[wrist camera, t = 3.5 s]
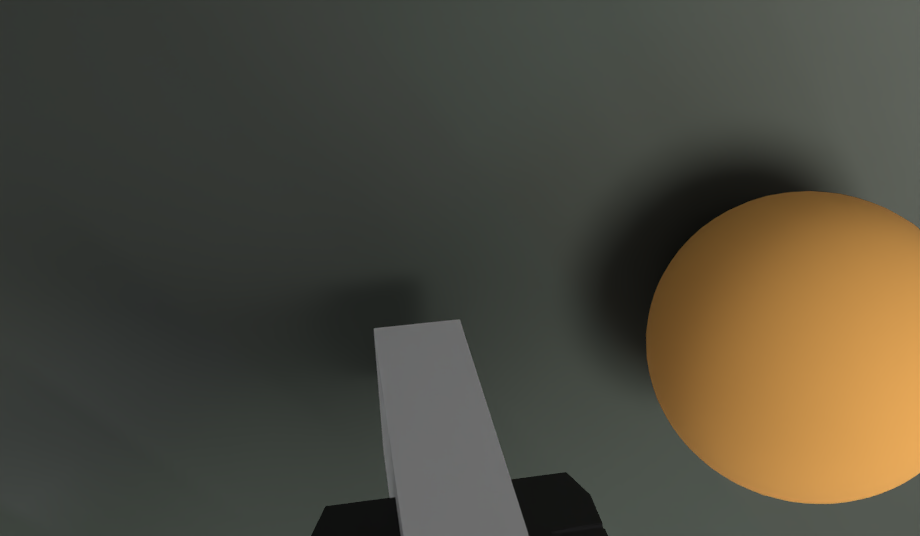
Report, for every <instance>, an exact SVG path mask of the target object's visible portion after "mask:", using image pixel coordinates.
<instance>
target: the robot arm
mask: <svg viewBox="0 0 920 536" xmlns="http://www.w3.org/2000/svg"><path fill="white" fill-rule="evenodd" d="M374 340H375V353H376V365H377V377H378V389H379V402H380V414H381V426H382V439H383V451H384V459H385V467H386V474H387V482H388V489H389V497H390V498H385V499H378V500H370V501H363V502H355V503H348V504H340V505H332V506H326V507H325V509H324V511H323V513H322V515H321V517H320V519H319V521H318V523H317V525H316V527H315V529H314V531H313V533H312V535H311V536H608V535H607V533H606V531H605V529H603V526H602V521H601V519H600V517H599V514H598V512H597V510H596V507H595V505H594V503H593V500H592V498H591V496H590V494H589V493H588V492H587V491H585V490H584V489H583V488H582V487H581V486H580V485H579V484H578V483H577V482H576V481H575V480H574V479H573V478H572V477H571V476H570V475H568V474H567V473H566V472H565V473H557V474H550V475H542V476H534V477H527V478H519V479H512V480H511V478H510V475H509V472H508V469H507V466H506V462H505V459H504V456H503V453H502V450H501V447H500V444H499V441H498V437H497V434H496V431H495V428H494V425H493V422H492V419H491V415H490V412H489V409H488V406H487V403H486V400H485V397H484V394H483V390H482V387H481V384H480V381H479V378H478V375H477V372H476V368H475V365H474V362H473V359H472V356H471V353H470V350H469V347H468V343H467V340H466V337H465V334H464V331H463V328H462V325H461V321H460V319H457V320H448V321H438V322H429V323H419V324H410V325H400V326H391V327H381V328H374Z"/></svg>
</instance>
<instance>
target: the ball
mask: <svg viewBox="0 0 920 536" xmlns="http://www.w3.org/2000/svg"><path fill="white" fill-rule="evenodd" d="M646 351H647V362H648V368H649V374H650V377H651V381H652V385H653V388H654V391H655V394H656V396H657V399H658V401H659V403H660V406H661V408H662V410H663V412H664V413H665V415H666V417H667V419H668V421H669V422H670V424H671V426H672V427H673V428H674V430H675V431H676V432H677V434H678V435H679V436H680V438H681V439H682V440H683V441H684V442H685V444H686V445H687V446H688V447H689V448H690V449H691V450H692V451H693V452H694V453H695V454H696V455H697V456H698V457H699V458H700V459H701V460H703V461H704V462H705V463H706V464H707V465H708V466H710V467H711V468H712V469H714V470H715V471H717V472H718V473H720V474H721V475H723V476H724V477H726V478H728V479H729V480H731V481H733V482H734V483H736V484H738V485H741V486H743V487H745V488H747V489H750V490H752V491H755V492H757V493H760V494H762V495H766V496H770V497H774V498H778V499H782V500H786V501H790V502H798V503H811V504H834V503H842V502H849V501H854V500H859V499H864V498H868V497H871V496H875V495H878V494H881V493H883V492H886V491H888V490H891V489H893V488H895V487H897V486H899V485H901V484H903V483H905V482H906V481H908V480H910V479H911V478H913V477H914V476H916V475H918V474H919V473H920V229H919V228H918V227H916V226H915V225H914V224H912V223H911V222H909V221H908V220H906V219H904V218H903V217H901V216H899V215H898V214H896V213H894V212H892V211H890V210H888V209H886V208H884V207H882V206H879V205H877V204H874V203H872V202H869V201H866V200H863V199H860V198H856V197H852V196H848V195H843V194H838V193H829V192H817V191H800V192H788V193H780V194H775V195H769V196H765V197H761V198H758V199H755V200H752V201H749V202H746V203H744V204H742V205H739V206H737V207H735V208H732V209H730V210H728V211H727V212H725V213H723V214H721V215H720V216H718V217H716V218H714V219H713V220H712V221H710V222H709V223H707V224H706V225H705V226H703V227H702V228H701V229H700V230H698V231H697V232H696V233H695V234H694V235H693V236H692V237H691V238H690V239H689V240H688V241H687V242H686V243H685V244H684V245H683V246H682V247H681V248H680V250H679V251H678V252H677V254H676V255H675V256H674V258H673V259H672V260H671V262H670V263H669V265H668V267H667V269H666V270H665V272H664V274H663V276H662V277H661V279H660V281H659V284H658V286H657V288H656V291H655V293H654V296H653V300H652V303H651V307H650V311H649V316H648V323H647V330H646Z"/></svg>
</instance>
